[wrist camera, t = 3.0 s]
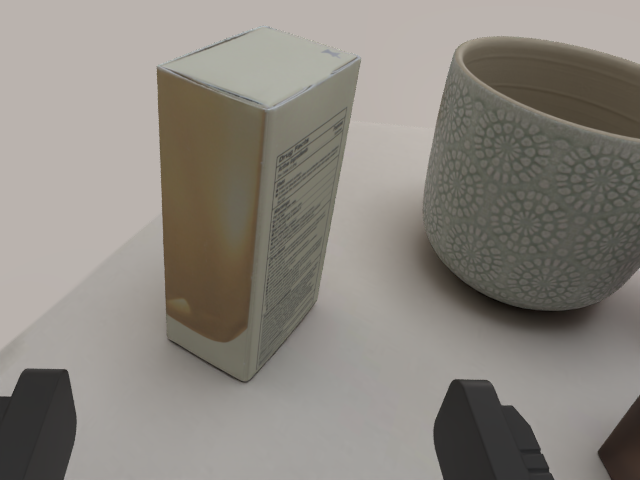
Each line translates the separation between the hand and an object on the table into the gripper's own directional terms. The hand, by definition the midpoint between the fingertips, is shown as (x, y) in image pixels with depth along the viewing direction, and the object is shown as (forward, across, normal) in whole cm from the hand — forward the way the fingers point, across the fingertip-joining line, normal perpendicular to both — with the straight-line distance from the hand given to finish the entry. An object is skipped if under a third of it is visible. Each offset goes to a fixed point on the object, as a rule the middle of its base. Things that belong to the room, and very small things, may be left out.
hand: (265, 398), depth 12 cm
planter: (+16, -15, +9) cm, 23 cm away
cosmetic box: (+11, 0, +9) cm, 14 cm away
